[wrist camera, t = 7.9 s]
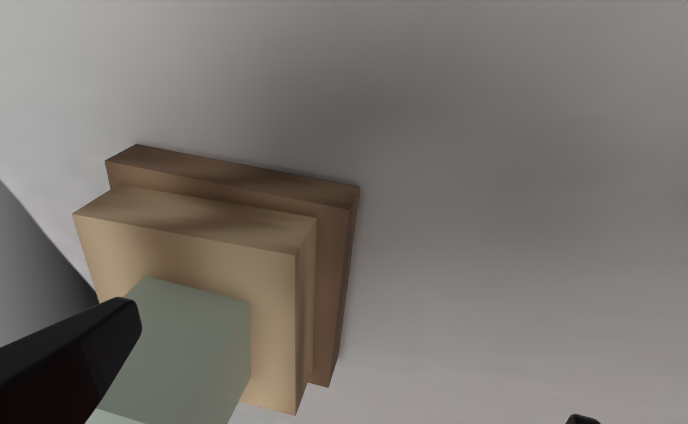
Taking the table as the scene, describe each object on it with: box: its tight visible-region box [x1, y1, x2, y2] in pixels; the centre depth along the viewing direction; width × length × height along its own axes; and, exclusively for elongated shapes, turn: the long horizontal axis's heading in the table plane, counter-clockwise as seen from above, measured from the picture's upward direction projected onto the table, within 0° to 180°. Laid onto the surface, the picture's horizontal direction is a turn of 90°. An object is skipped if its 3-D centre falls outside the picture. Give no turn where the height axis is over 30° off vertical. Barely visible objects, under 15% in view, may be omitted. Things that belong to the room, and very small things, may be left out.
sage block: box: [85, 276, 250, 424], centre depth 17 cm, size 5×5×6 cm
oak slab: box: [72, 184, 317, 416], centre depth 21 cm, size 10×10×3 cm
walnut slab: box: [105, 144, 360, 388], centre depth 23 cm, size 12×12×3 cm
